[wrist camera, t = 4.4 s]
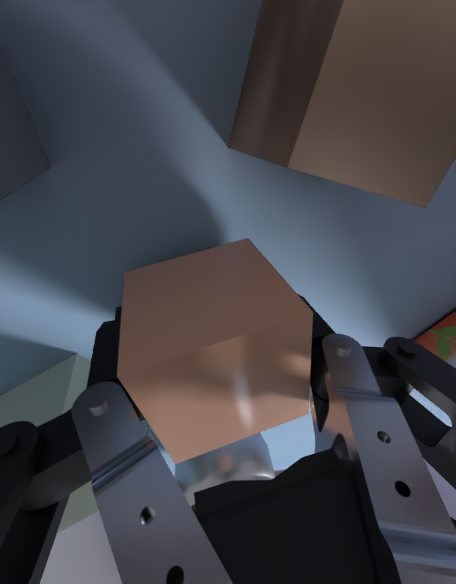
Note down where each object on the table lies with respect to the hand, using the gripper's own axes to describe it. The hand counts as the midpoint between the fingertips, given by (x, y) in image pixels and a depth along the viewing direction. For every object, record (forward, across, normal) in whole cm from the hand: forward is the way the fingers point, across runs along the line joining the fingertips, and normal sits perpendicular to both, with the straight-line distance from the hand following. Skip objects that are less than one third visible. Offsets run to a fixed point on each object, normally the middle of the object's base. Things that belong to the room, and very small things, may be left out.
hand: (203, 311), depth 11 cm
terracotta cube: (+1, 0, 0) cm, 1 cm away
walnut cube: (+2, -5, -8) cm, 9 cm away
